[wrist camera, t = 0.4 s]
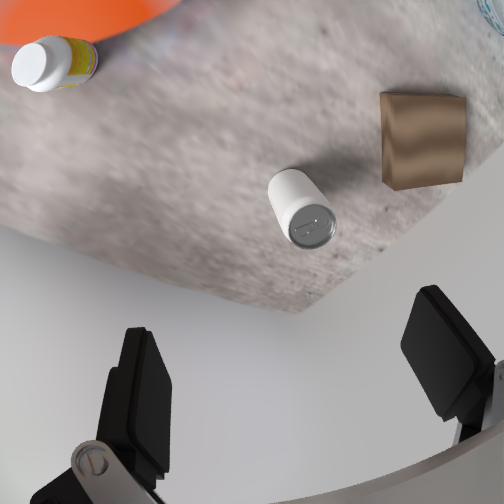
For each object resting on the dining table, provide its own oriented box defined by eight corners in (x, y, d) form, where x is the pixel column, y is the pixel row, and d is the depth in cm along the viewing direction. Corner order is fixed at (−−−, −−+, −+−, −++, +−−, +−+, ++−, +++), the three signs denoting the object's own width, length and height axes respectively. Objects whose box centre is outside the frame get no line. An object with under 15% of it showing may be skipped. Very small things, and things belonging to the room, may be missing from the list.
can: (318, 196, 45) (348, 235, 35) (280, 217, 47) (299, 262, 36) (298, 159, 42) (326, 190, 32) (258, 182, 43) (273, 220, 33)
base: (379, 92, 38) (393, 95, 34) (450, 94, 38) (466, 98, 34) (382, 181, 45) (394, 190, 42) (448, 173, 45) (462, 181, 42)
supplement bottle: (84, 30, 28) (37, 20, 18) (108, 63, 32) (66, 62, 21) (49, 63, 30) (-4, 67, 19) (71, 95, 33) (22, 108, 22)
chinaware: (493, -29, 23) (521, -31, 16) (516, 40, 31) (544, 44, 24) (444, -35, 25) (473, -42, 18) (472, 43, 32) (504, 46, 26)
